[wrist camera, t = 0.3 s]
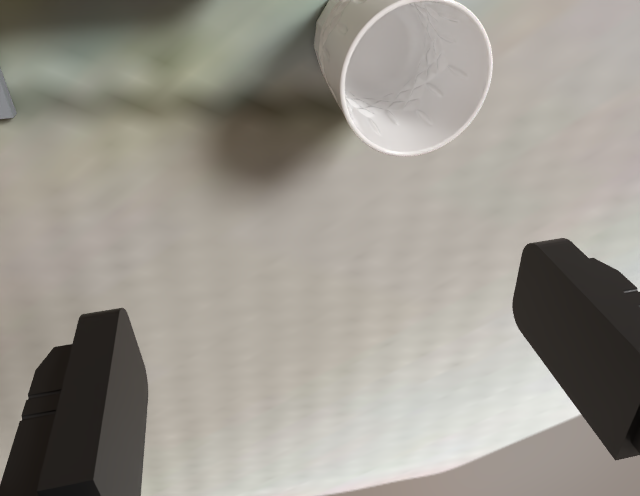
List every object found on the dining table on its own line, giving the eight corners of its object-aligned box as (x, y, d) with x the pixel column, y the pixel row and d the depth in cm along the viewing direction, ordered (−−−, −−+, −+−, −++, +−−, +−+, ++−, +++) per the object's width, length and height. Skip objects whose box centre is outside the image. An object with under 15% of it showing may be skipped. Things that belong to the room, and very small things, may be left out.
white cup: (287, 79, 36) (317, 135, 27) (329, -51, 32) (378, -31, 24) (393, 112, 38) (449, 172, 30) (443, -4, 35) (521, 28, 27)
